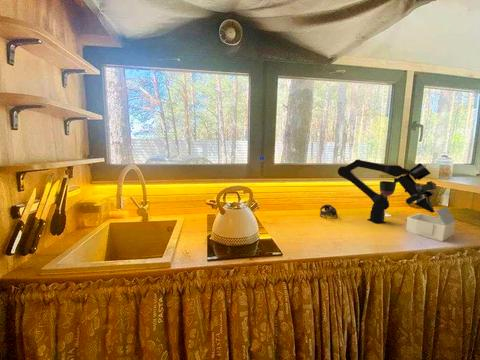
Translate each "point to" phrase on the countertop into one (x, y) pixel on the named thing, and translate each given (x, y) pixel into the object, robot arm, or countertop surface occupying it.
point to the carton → (429, 227)
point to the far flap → (445, 215)
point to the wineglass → (387, 189)
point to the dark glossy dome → (328, 210)
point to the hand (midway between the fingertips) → (433, 212)
